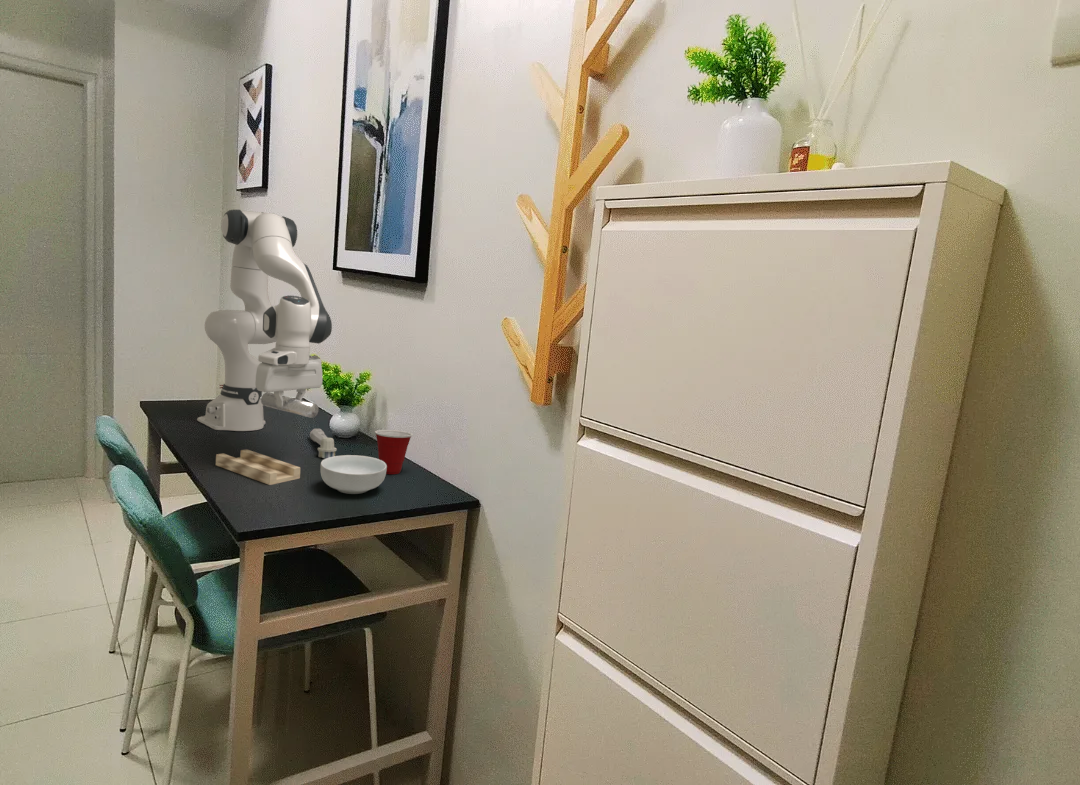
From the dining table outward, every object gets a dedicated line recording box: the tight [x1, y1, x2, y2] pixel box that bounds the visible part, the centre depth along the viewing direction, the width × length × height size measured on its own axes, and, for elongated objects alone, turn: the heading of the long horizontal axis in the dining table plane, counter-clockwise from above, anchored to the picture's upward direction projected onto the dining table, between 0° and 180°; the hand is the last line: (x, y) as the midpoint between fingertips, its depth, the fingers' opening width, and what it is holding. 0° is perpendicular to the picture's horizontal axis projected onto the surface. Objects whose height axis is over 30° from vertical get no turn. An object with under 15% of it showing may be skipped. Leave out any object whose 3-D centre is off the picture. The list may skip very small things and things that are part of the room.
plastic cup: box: [374, 429, 414, 475], centre depth 193 cm, size 11×11×12 cm
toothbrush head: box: [309, 428, 338, 459], centre depth 209 cm, size 5×7×25 cm
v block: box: [215, 449, 301, 486], centre depth 179 cm, size 22×10×3 cm, turn 60°
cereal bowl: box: [319, 454, 387, 495], centre depth 174 cm, size 17×17×7 cm
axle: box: [260, 392, 319, 419], centre depth 184 cm, size 18×4×4 cm, turn 62°
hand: (289, 405), depth 184 cm, fingers closed on axle, 4 cm apart
